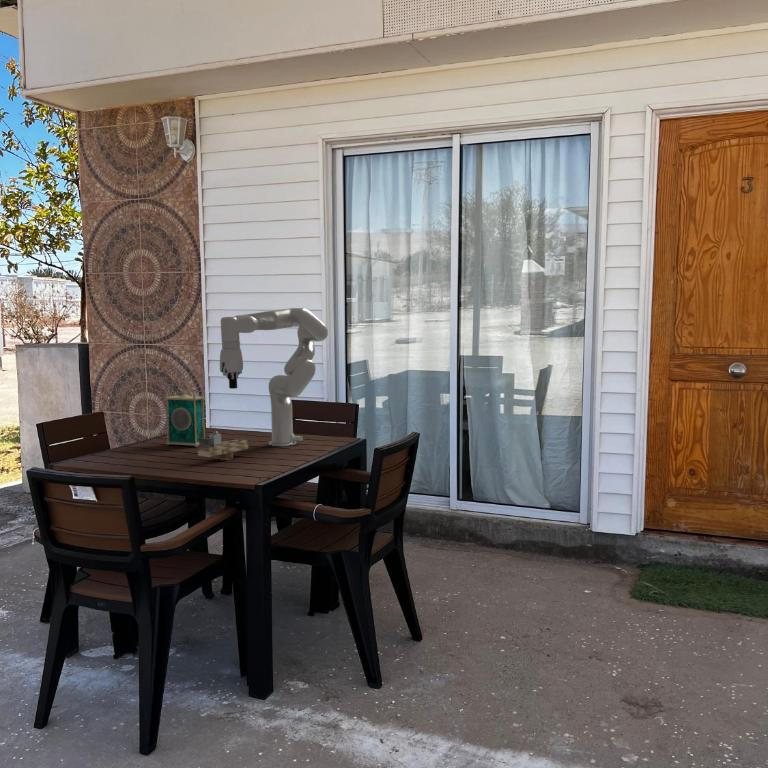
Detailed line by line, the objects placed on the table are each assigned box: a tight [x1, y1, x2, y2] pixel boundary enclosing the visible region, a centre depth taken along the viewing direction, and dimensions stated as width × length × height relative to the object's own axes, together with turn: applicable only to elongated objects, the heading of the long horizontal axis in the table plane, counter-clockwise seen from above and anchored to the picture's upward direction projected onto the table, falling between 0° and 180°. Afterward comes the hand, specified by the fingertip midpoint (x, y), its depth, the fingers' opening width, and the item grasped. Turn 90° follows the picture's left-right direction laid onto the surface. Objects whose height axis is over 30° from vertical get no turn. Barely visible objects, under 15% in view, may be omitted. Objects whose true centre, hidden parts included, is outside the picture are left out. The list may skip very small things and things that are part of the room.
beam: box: [197, 437, 249, 461], centre depth 312 cm, size 22×7×10 cm, turn 145°
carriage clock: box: [163, 379, 207, 448], centre depth 345 cm, size 17×9×30 cm, turn 70°
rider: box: [209, 431, 222, 447], centre depth 308 cm, size 4×2×7 cm, turn 145°
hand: (233, 388), depth 326 cm, fingers closed
